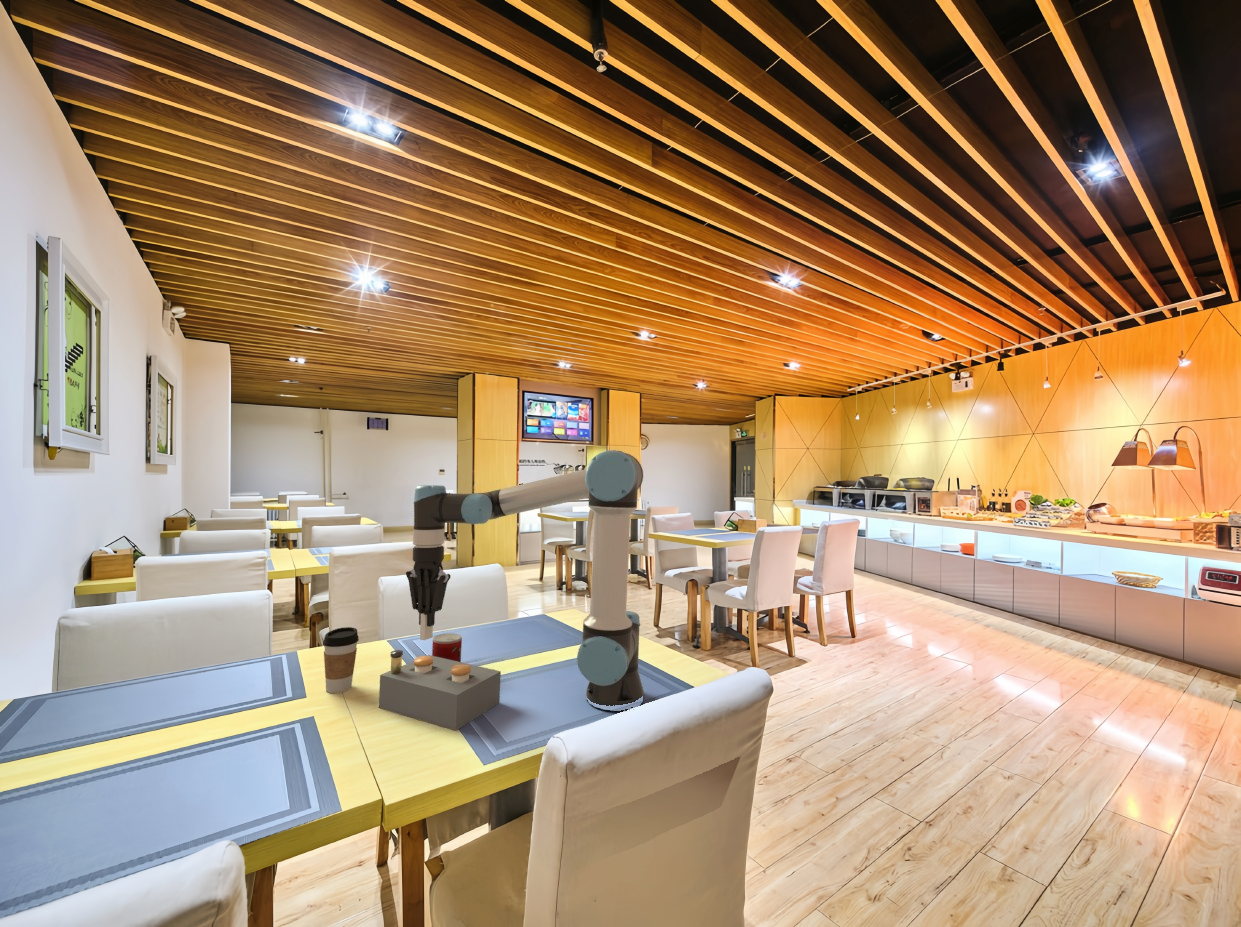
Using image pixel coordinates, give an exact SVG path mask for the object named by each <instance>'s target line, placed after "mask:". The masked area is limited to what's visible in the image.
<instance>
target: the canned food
mask: <svg viewBox="0 0 1241 927" xmlns="http://www.w3.org/2000/svg"><path fill="white" fill-rule="evenodd" d="M462 639H463V637H462V635H461V634H458V633H453V632H449V633H448V632H446V633H439V634H435V636H432V646H431V647H432V648H431V651H432V652H431V656H436V657H440V658H444V659H449V660H453V661H458V662H461V661H462V644H463V642H462V641H463V640H462Z"/></svg>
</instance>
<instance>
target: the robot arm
mask: <svg viewBox="0 0 1241 927" xmlns="http://www.w3.org/2000/svg"><path fill="white" fill-rule="evenodd" d="M643 470H644V469H643V467H642V464H641V463H640V461H639V460H638V459H637V458H636V457H635V456H634V455H632V454H629V453H626V452H624V451H622V450H616V449H611V450H605V451H602V452H599V453H598V454H596V455H595V456H593V458H591V459H590V461H589V462H588V464H587V466H586V468H585V469H582V470H578V471H574V472H568V473H566V474H561V475H556V476H553V477H549V478H544V479H539V480H538V479H537V480H536V481H530V482H526V483H522V484H519V485H518V484H517V485H513V486H509V487H505V488H499V489H496V490H491V491H486V492H477V493H475V492H474V493H473V492H472V493H447V490H446V486H445V485H437V484H436V485H434V484H433V485H432V484H431V485H430V484H429V485H427V484H426V485H425V484H423V485H422V484H421V485H417V486H416V487H415V489H414V499H413V534H412V535H413V536H412V545H413V548H412V561H413V562H414V565H413V568H412V569H411V570H408V571H406V572H405V576H406V578H407V580H408V587H409V591H410V599H411V600H410V601H411V607H412V609H413V610H416V611H417V612H418V625H419V626H420V627H419V628H420V630H419V640H422V641H426V640H429V639H433V637H434V636H433V630H434V628H433V627H434V625H435V624H436V622H435V620H436V619H435V618H436V617H435V615H436V612H439V611H441V610H442V608H443V604H444V600H445V594H446V591H447V586H448V582H449V580H450V579H451V574H450V573H446V572H445V571H444V567H443V564H442V562H443V561H444V559H445V546H444V545H443V544H445V526H446V524H449V523H450V524H466V525H467V524H470V525H483V524H486V523H487V522H488V521H491V520H497V519H499V518H503V517H507V516H510V515H511V516H512V515H515V514H520V513H525V512H528V511H534V510H537V509H543V508H547V507H552V506H556V505H561V504H567V503H571V502H575V501H580V500H585V499H588V508H590V510H591V511H592V512H593V514H594V518H593V519H594V520H593V538H592V539H593V540H592V544H593V545H592V558H591V559H592V563H591V564H592V565H591V582H590V583H591V584H590V585H591V588H590V604H589V606H590V608H589V609H590V610H589V614H588V615H587V616H586V617H585V618H583V622H582V625H583V626H582V642H581V644H580V645H579V647H578V651H577V654H576V655H577V656H576V664H577V667H578V670H579V672H580V674H581V675H582V676H583V677H584V678H585V679H586V680H587V681H588V684H587V688H586V696H587V698H588V699H589V700H590V701H591V702H593V703H596V704H599V705H606V706H609V705H610V706H613V705H614V706H615V705H623V704H628V703H632V702H635V701H636V700H638V699H639V698H641V697H642V696H643V695H645V691H644V687H643V684H642V681H641V676H640V673H639V651H640V648H639V646H640V626H641V623H640V620H641V619H640V615H639V614H638V613H637V612H634V611H631V610H627V603H628V602H627V600H628V599H627V598H628V577H629V576H628V574H629V556H630V555H629V554H630V553H629V551H630V549H629V548H630V530H631V527H630V526H631V524H630V523H631V515H632V514H633V513H634V512H635V511H636V510H637V508H638V494H639V493H638V492H639V489H640V488H641V486H642V484H643V481H644V471H643ZM631 708H633V707H631ZM625 710H628V709H625ZM621 711H623V712H625V711H624V710H621ZM621 711H618V713H621Z"/></svg>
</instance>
